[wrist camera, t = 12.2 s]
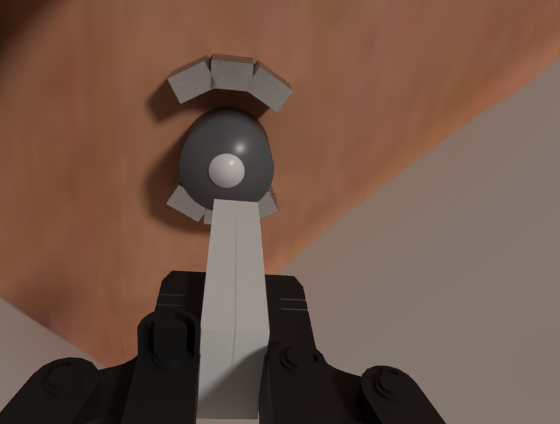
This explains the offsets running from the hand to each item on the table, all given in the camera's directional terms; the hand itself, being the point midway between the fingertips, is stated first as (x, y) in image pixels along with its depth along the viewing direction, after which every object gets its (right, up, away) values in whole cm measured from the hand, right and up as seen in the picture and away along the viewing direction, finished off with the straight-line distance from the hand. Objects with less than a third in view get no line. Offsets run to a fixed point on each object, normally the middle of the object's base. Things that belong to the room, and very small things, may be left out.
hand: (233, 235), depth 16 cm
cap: (-2, +6, +20) cm, 21 cm away
